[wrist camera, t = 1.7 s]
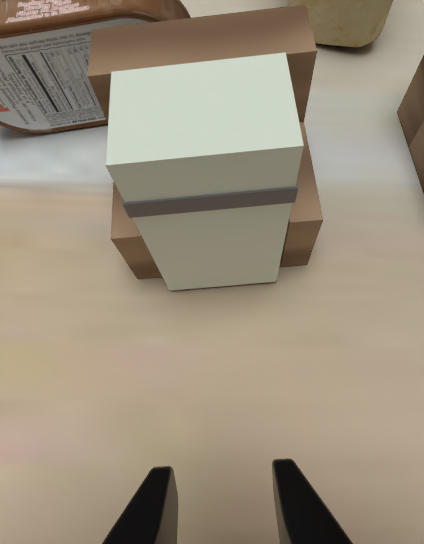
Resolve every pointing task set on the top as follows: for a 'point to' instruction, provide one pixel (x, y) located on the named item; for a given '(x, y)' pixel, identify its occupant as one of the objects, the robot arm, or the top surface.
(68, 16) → the tin
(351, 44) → the food model
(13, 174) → the top surface
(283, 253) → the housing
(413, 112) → the housing
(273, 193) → the pale green box
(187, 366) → the top surface
